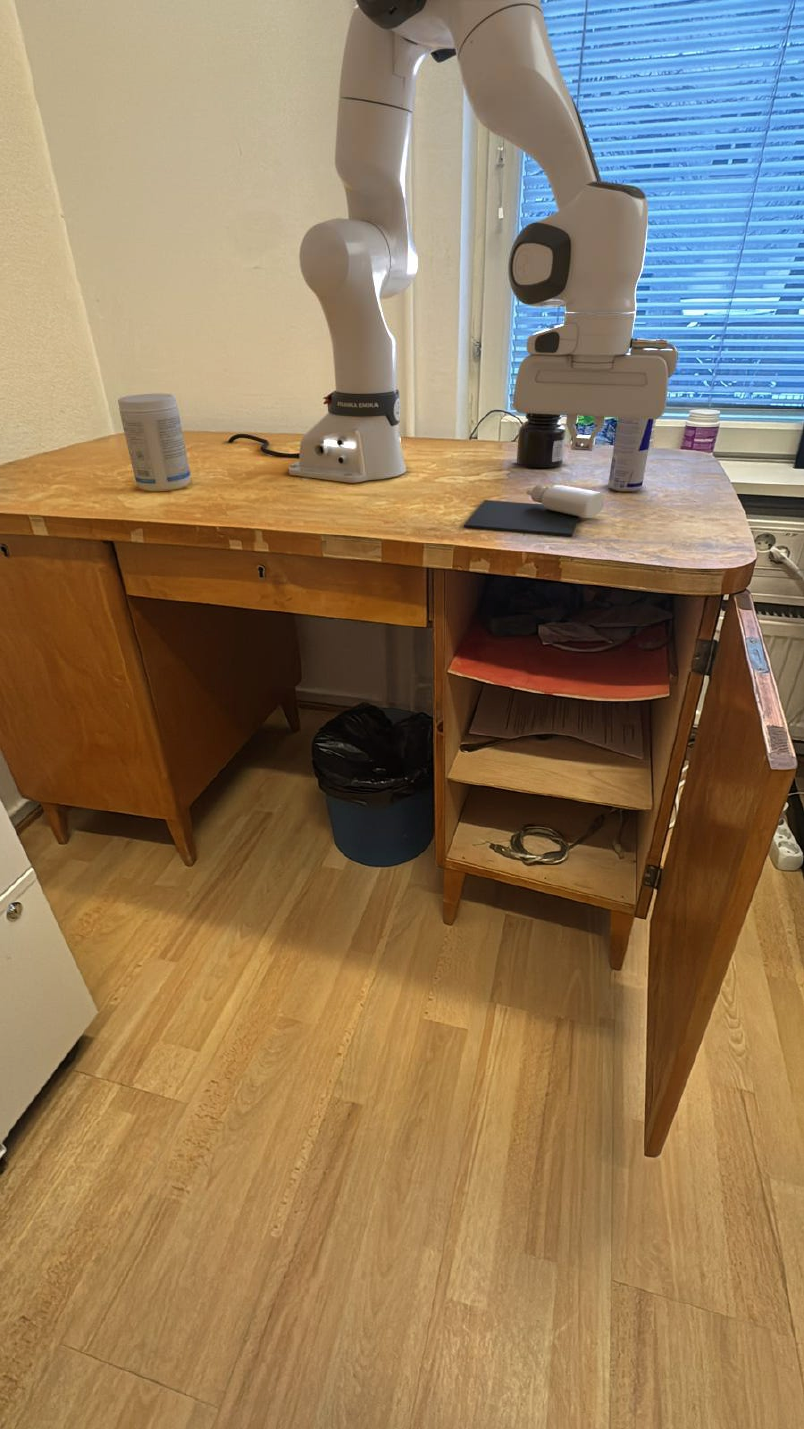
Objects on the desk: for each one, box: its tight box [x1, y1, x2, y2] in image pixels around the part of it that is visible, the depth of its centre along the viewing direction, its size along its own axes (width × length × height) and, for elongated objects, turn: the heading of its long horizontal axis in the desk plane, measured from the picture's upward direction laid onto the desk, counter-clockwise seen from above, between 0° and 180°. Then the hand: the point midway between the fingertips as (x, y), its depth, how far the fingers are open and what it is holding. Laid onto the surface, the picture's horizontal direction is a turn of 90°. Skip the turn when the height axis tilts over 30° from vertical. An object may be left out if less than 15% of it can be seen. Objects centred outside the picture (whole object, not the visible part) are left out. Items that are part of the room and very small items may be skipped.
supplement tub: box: [117, 393, 192, 492], centre depth 119 cm, size 10×10×15 cm
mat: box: [463, 499, 580, 538], centre depth 103 cm, size 16×14×1 cm
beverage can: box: [607, 417, 655, 493], centre depth 114 cm, size 6×6×15 cm
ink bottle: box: [516, 413, 566, 469], centre depth 131 cm, size 10×9×12 cm
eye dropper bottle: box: [526, 484, 605, 519], centre depth 105 cm, size 4×6×12 cm
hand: (582, 450), depth 96 cm, fingers closed
